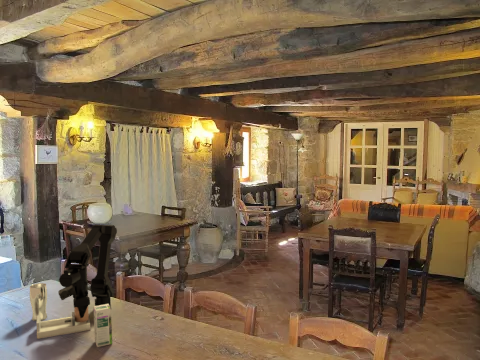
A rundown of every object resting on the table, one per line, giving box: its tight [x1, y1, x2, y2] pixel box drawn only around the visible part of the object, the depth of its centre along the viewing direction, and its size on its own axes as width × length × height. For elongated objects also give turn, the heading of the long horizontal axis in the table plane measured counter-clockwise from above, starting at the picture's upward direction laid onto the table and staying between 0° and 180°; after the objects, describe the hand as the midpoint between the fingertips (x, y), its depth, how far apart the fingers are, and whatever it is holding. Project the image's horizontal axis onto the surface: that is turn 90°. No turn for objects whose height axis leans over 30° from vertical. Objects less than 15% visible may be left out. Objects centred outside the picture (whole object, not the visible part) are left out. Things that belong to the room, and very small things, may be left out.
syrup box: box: [92, 304, 113, 348], centre depth 161 cm, size 6×6×14 cm
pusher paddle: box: [65, 311, 75, 326], centre depth 174 cm, size 4×8×4 cm, turn 23°
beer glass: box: [29, 282, 48, 322], centre depth 183 cm, size 7×7×15 cm
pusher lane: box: [36, 315, 91, 340], centre depth 173 cm, size 20×11×6 cm, turn 113°
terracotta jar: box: [73, 306, 90, 322], centre depth 176 cm, size 6×6×8 cm
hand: (81, 315), depth 176 cm, fingers closed on terracotta jar, 5 cm apart
